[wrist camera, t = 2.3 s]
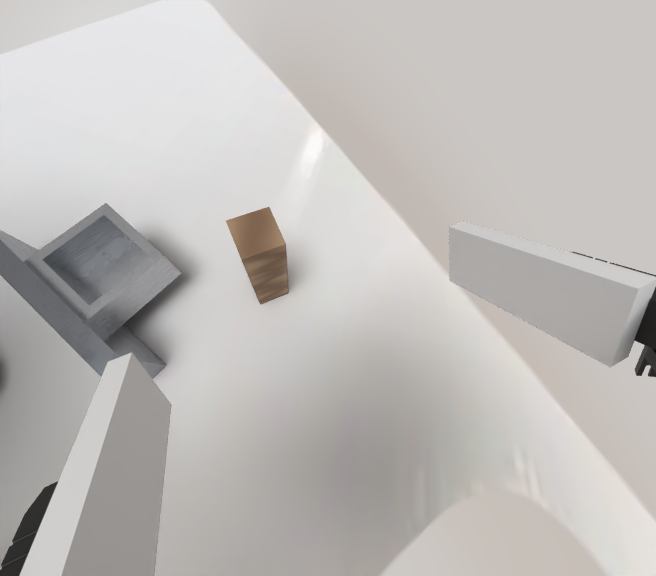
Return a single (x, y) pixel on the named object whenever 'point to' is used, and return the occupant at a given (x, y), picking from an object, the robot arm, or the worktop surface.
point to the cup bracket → (91, 285)
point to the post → (261, 253)
